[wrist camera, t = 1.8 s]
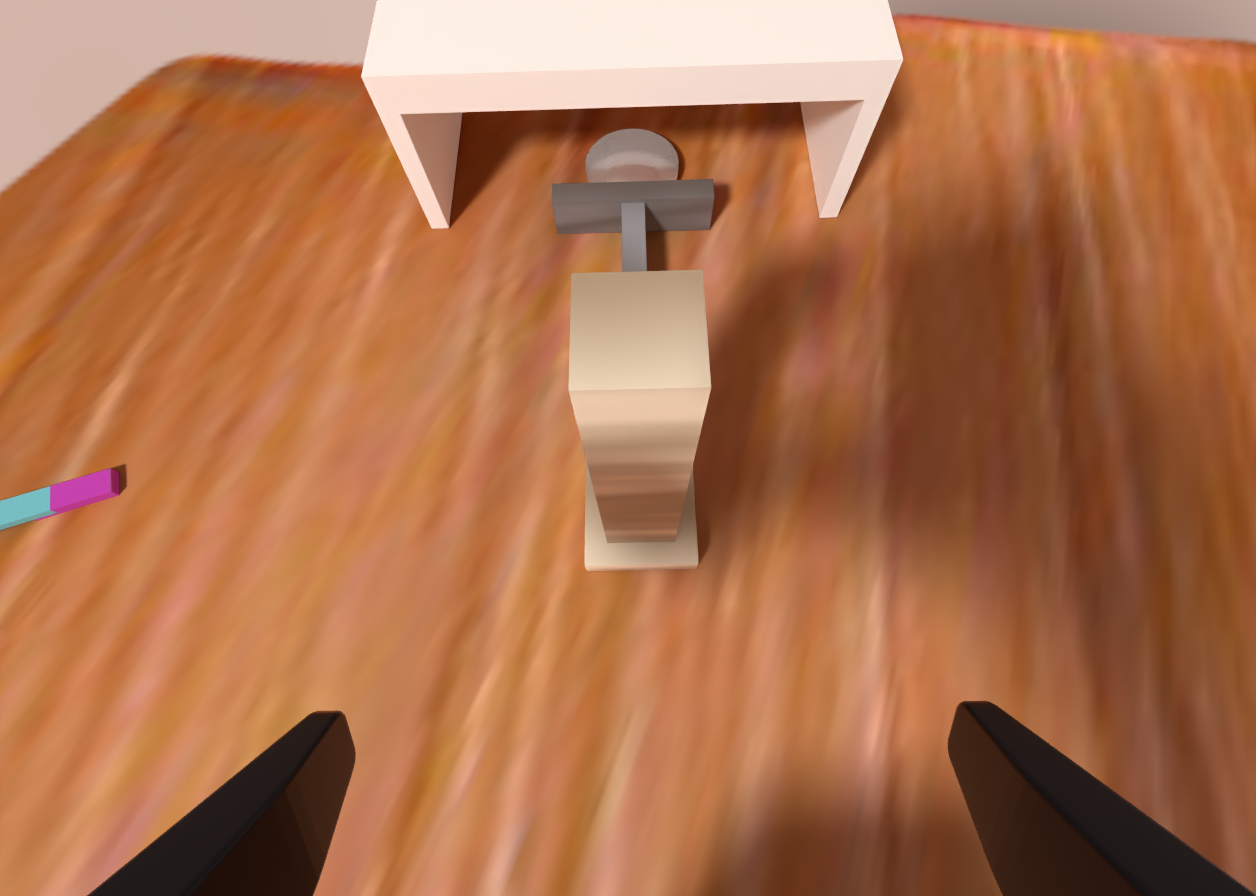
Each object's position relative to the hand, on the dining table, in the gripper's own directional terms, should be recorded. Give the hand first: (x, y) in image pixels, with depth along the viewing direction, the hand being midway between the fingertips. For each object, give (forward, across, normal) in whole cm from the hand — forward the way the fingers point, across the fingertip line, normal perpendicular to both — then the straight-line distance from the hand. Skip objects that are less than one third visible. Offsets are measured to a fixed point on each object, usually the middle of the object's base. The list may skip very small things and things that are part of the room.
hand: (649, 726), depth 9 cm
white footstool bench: (+26, 0, -8) cm, 27 cm away
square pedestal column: (+18, 0, 0) cm, 18 cm away
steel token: (+26, 0, -8) cm, 27 cm away
